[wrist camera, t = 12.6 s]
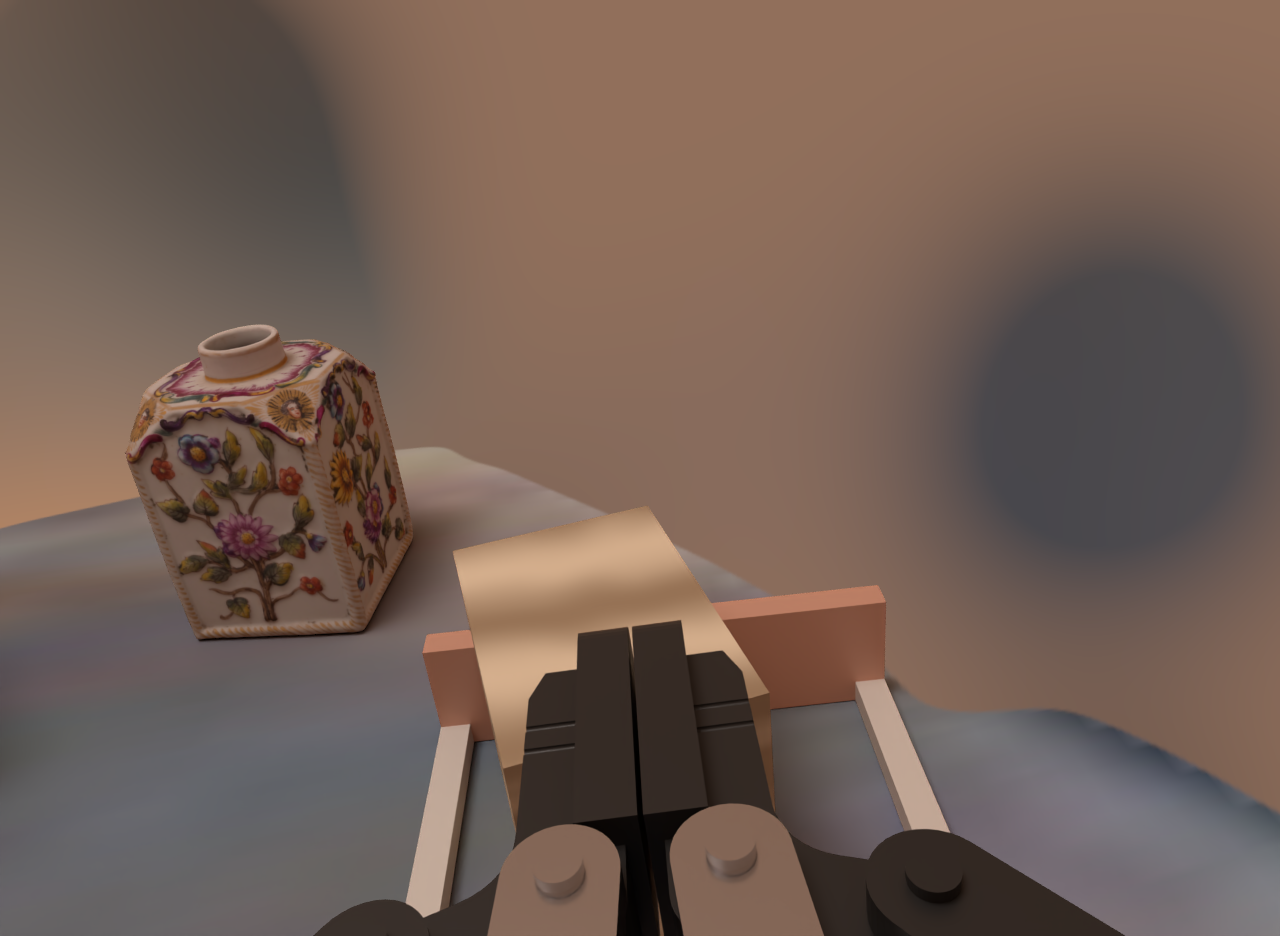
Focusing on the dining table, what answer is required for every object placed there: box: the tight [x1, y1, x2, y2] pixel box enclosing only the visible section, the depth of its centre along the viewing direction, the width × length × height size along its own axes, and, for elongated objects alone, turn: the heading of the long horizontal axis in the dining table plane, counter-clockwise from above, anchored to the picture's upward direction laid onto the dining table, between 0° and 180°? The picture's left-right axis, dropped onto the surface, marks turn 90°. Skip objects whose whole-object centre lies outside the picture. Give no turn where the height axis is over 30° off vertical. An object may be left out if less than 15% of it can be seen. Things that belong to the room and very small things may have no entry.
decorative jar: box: [125, 325, 413, 639], centre depth 61 cm, size 12×12×18 cm
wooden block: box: [453, 506, 775, 936], centre depth 40 cm, size 14×9×13 cm, turn 17°
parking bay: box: [406, 585, 950, 918], centre depth 41 cm, size 19×23×6 cm
